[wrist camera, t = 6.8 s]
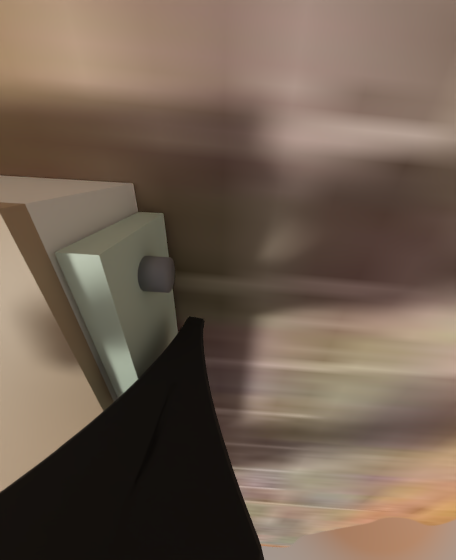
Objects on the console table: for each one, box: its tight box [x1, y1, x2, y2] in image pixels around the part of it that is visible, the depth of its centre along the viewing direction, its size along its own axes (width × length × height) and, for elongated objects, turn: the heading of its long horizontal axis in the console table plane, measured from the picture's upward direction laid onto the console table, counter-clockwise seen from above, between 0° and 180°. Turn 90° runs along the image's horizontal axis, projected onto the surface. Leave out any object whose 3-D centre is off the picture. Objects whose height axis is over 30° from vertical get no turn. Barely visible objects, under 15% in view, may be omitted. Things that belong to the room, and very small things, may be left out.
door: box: [54, 212, 178, 398], centre depth 11 cm, size 19×2×4 cm, turn 178°
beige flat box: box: [0, 176, 138, 492], centre depth 11 cm, size 20×12×5 cm, turn 177°
